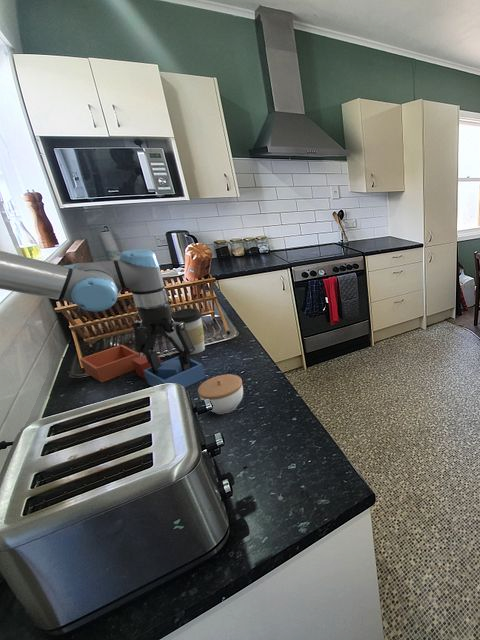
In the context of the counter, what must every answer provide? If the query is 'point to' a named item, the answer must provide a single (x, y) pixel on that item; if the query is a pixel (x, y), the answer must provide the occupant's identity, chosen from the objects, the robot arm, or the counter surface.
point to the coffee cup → (192, 326)
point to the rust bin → (109, 363)
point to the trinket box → (222, 392)
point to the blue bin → (182, 378)
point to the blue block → (170, 369)
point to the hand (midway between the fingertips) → (172, 371)
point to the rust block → (141, 365)
